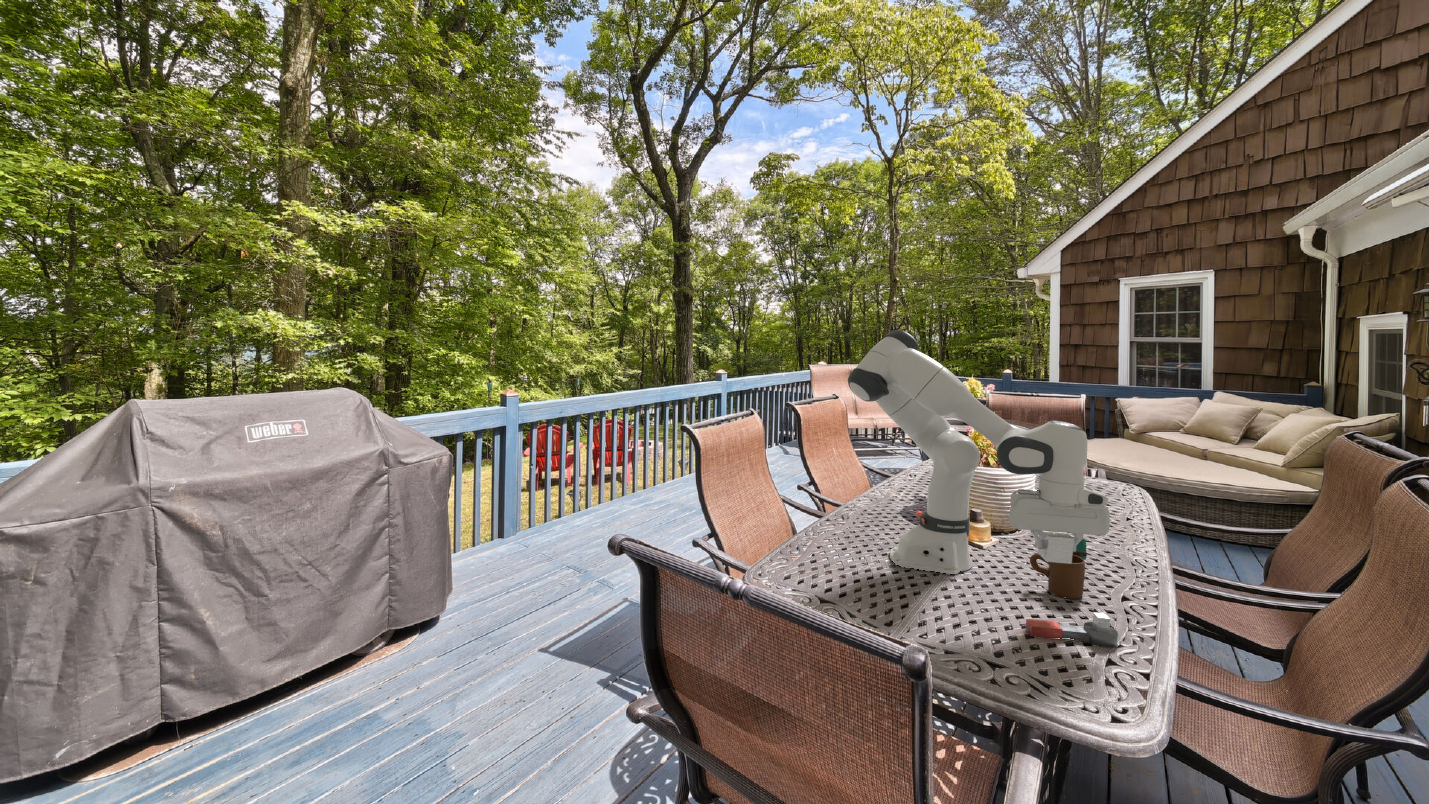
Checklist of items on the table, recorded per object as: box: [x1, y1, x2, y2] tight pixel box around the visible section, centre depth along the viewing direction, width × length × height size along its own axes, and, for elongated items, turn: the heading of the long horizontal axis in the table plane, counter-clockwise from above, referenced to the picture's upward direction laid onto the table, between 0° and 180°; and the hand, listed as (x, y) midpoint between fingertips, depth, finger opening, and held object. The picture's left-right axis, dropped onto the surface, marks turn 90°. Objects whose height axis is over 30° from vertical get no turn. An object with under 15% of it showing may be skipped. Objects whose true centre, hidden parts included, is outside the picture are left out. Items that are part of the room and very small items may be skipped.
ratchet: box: [1025, 612, 1119, 649], centre depth 118 cm, size 17×6×6 cm, turn 78°
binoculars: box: [1072, 534, 1088, 561], centre depth 159 cm, size 9×11×10 cm
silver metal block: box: [1037, 531, 1074, 564], centre depth 126 cm, size 5×5×6 cm
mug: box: [1029, 553, 1086, 600], centre depth 140 cm, size 12×8×9 cm, turn 55°
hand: (1055, 549), depth 126 cm, fingers closed on silver metal block, 5 cm apart
